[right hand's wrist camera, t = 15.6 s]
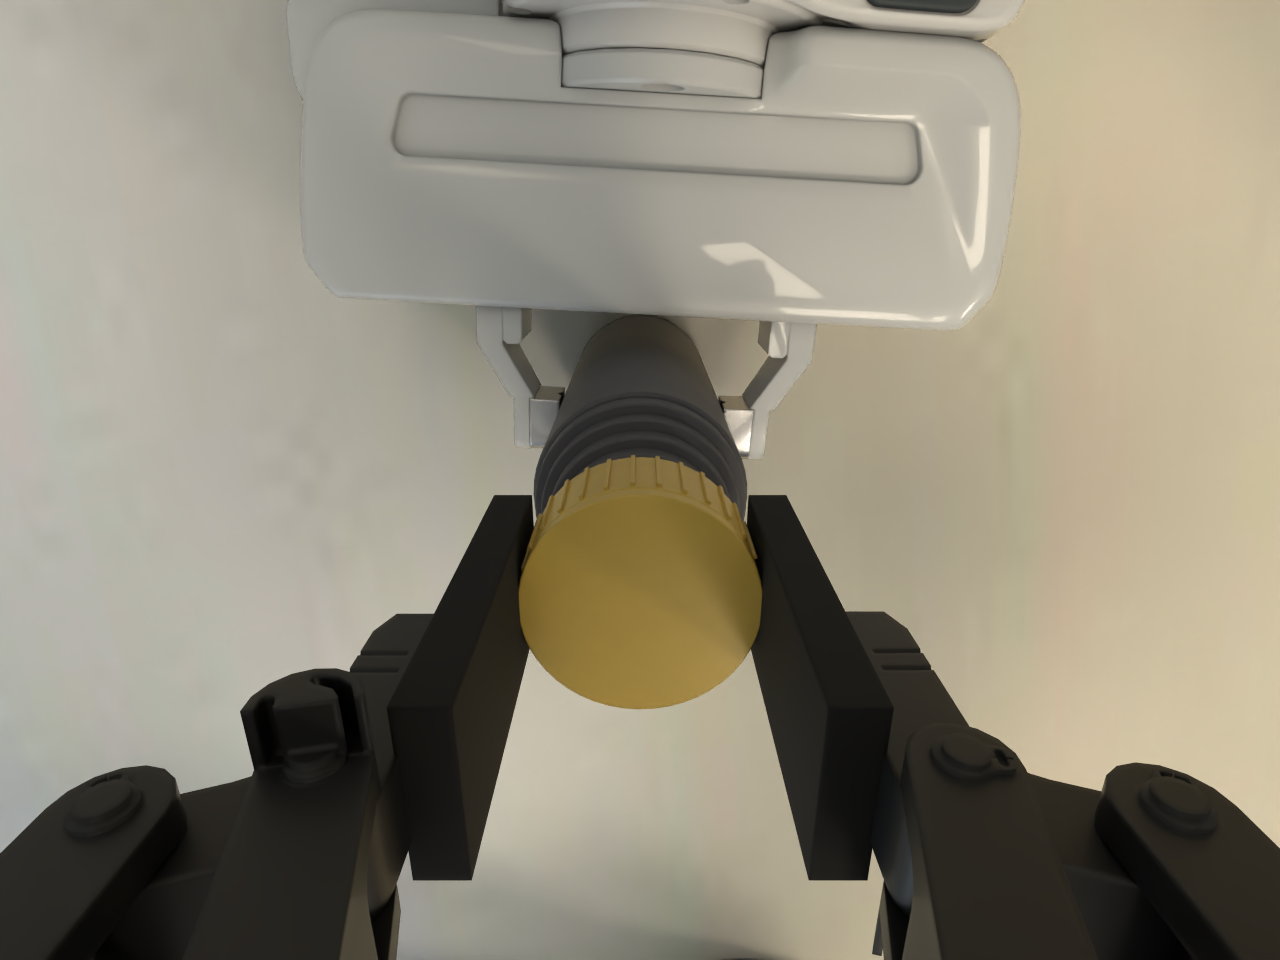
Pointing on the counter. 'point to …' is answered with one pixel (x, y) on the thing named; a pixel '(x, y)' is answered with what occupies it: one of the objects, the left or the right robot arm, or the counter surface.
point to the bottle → (640, 410)
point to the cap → (640, 584)
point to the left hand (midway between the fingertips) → (640, 449)
